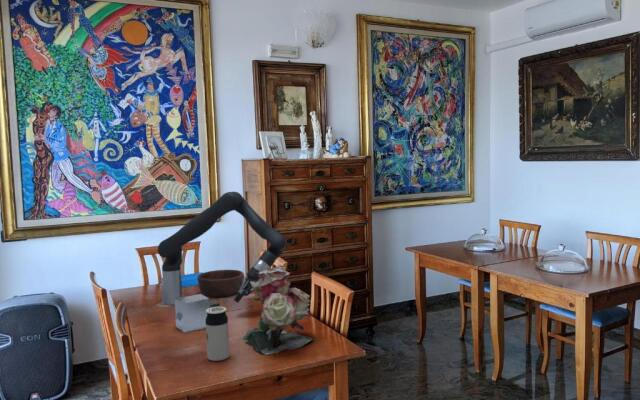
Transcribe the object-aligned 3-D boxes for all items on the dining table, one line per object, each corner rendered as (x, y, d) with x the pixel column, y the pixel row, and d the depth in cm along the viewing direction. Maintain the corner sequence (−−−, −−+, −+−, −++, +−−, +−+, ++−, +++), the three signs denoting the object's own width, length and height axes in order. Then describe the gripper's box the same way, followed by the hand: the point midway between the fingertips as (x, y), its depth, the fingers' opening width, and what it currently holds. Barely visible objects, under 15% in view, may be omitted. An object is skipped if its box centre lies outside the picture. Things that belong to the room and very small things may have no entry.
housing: (184, 332, 219) (182, 303, 218) (176, 326, 228) (174, 298, 227) (210, 326, 226) (209, 298, 225) (202, 321, 234) (200, 293, 233)
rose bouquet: (268, 360, 187) (265, 278, 184) (236, 337, 211) (232, 265, 209) (328, 344, 200) (325, 268, 198) (291, 325, 225) (288, 256, 222)
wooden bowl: (194, 291, 289) (193, 272, 288) (237, 285, 300) (236, 267, 299) (203, 301, 267) (202, 282, 266) (250, 294, 277) (249, 276, 276)
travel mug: (230, 352, 195) (228, 305, 193) (227, 361, 187) (225, 312, 185) (209, 353, 195) (207, 306, 193) (205, 362, 187) (203, 313, 185)
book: (161, 278, 308) (202, 271, 320) (161, 285, 309) (202, 278, 321) (168, 283, 293) (210, 276, 306) (168, 291, 294) (211, 283, 306)
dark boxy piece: (180, 330, 220) (178, 311, 220) (175, 327, 225) (174, 308, 225) (220, 321, 231) (219, 303, 230) (215, 318, 236) (214, 300, 235)
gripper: (246, 264, 247) (224, 293, 241) (259, 268, 236) (236, 299, 230) (257, 273, 251) (235, 302, 245) (270, 278, 240) (247, 309, 234)
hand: (235, 301), depth 238 cm, fingers closed
